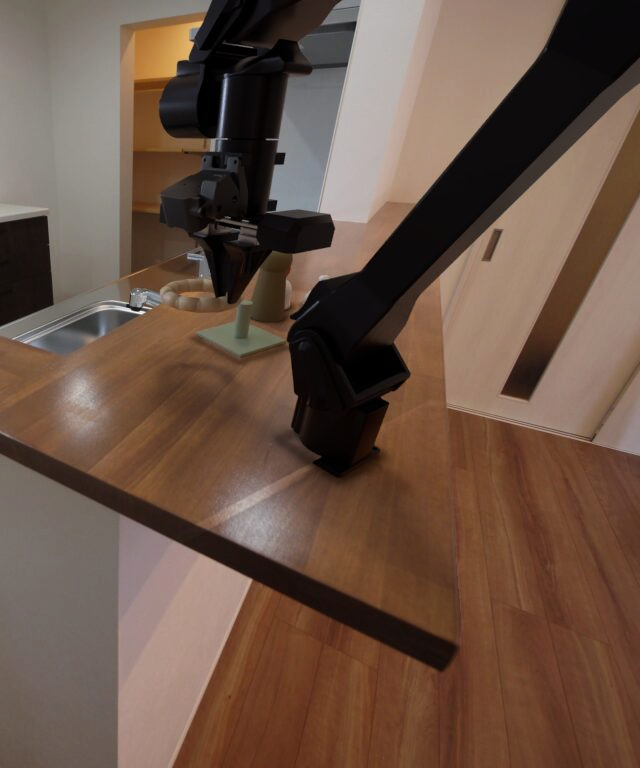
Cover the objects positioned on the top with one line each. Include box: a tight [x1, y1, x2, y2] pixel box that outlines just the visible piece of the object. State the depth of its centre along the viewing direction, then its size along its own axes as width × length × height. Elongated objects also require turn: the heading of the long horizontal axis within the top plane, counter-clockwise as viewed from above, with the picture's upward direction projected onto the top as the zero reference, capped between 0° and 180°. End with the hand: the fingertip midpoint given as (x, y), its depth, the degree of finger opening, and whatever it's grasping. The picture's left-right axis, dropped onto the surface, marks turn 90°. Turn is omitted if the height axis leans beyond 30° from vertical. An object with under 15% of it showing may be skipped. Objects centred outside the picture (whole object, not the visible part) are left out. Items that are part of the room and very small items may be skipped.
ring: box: [159, 278, 245, 314], centre depth 50 cm, size 10×10×2 cm
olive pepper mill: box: [250, 251, 294, 323], centre depth 69 cm, size 6×6×11 cm
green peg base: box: [195, 299, 287, 359], centre depth 60 cm, size 9×9×6 cm
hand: (225, 301), depth 47 cm, fingers closed on ring, 1 cm apart
